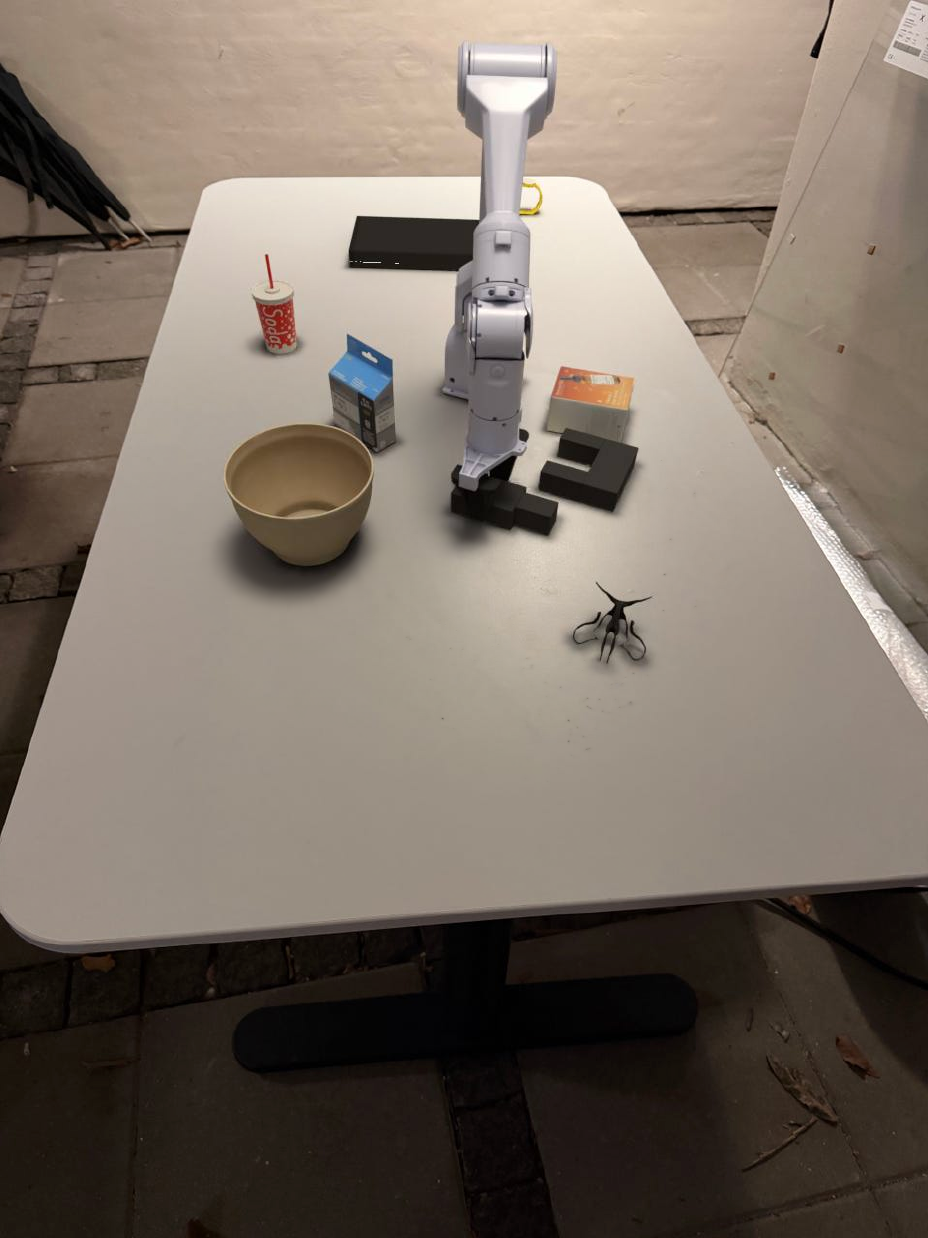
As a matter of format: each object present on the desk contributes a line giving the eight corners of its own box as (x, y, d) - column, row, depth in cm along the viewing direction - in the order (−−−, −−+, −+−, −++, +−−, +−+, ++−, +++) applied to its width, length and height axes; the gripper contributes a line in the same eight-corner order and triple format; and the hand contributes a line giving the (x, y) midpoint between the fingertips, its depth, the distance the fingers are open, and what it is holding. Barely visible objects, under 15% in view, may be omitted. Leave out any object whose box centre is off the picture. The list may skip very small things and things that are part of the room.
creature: (638, 679, 81) (654, 616, 85) (646, 658, 77) (663, 591, 80) (565, 659, 83) (584, 597, 86) (569, 636, 78) (589, 572, 82)
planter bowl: (268, 607, 85) (249, 536, 77) (225, 517, 94) (205, 445, 86) (401, 561, 90) (397, 490, 82) (349, 480, 99) (340, 408, 91)
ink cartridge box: (332, 425, 107) (322, 343, 97) (354, 413, 109) (345, 332, 99) (377, 453, 103) (370, 371, 93) (398, 441, 105) (394, 359, 95)
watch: (511, 216, 151) (513, 183, 147) (509, 210, 153) (511, 178, 148) (541, 216, 152) (544, 183, 147) (539, 210, 154) (542, 177, 149)
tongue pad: (450, 511, 96) (450, 492, 94) (466, 487, 99) (467, 468, 97) (545, 541, 93) (547, 522, 91) (558, 515, 96) (561, 496, 94)
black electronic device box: (358, 231, 145) (356, 214, 143) (481, 235, 146) (481, 218, 143) (349, 267, 136) (348, 250, 134) (481, 271, 136) (481, 254, 134)
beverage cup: (254, 351, 118) (235, 259, 108) (275, 331, 122) (259, 241, 111) (289, 360, 117) (274, 268, 106) (309, 340, 121) (296, 249, 110)
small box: (629, 410, 101) (550, 396, 103) (621, 444, 106) (545, 431, 107) (635, 376, 106) (560, 364, 108) (627, 411, 111) (555, 398, 112)
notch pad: (538, 489, 99) (540, 471, 97) (563, 445, 105) (565, 427, 103) (613, 511, 97) (617, 493, 94) (634, 465, 103) (638, 447, 100)
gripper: (504, 452, 80) (496, 546, 90) (550, 380, 88) (538, 474, 99) (441, 434, 81) (441, 529, 92) (493, 365, 90) (487, 459, 101)
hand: (488, 499), depth 95 cm, fingers open, 7 cm apart
